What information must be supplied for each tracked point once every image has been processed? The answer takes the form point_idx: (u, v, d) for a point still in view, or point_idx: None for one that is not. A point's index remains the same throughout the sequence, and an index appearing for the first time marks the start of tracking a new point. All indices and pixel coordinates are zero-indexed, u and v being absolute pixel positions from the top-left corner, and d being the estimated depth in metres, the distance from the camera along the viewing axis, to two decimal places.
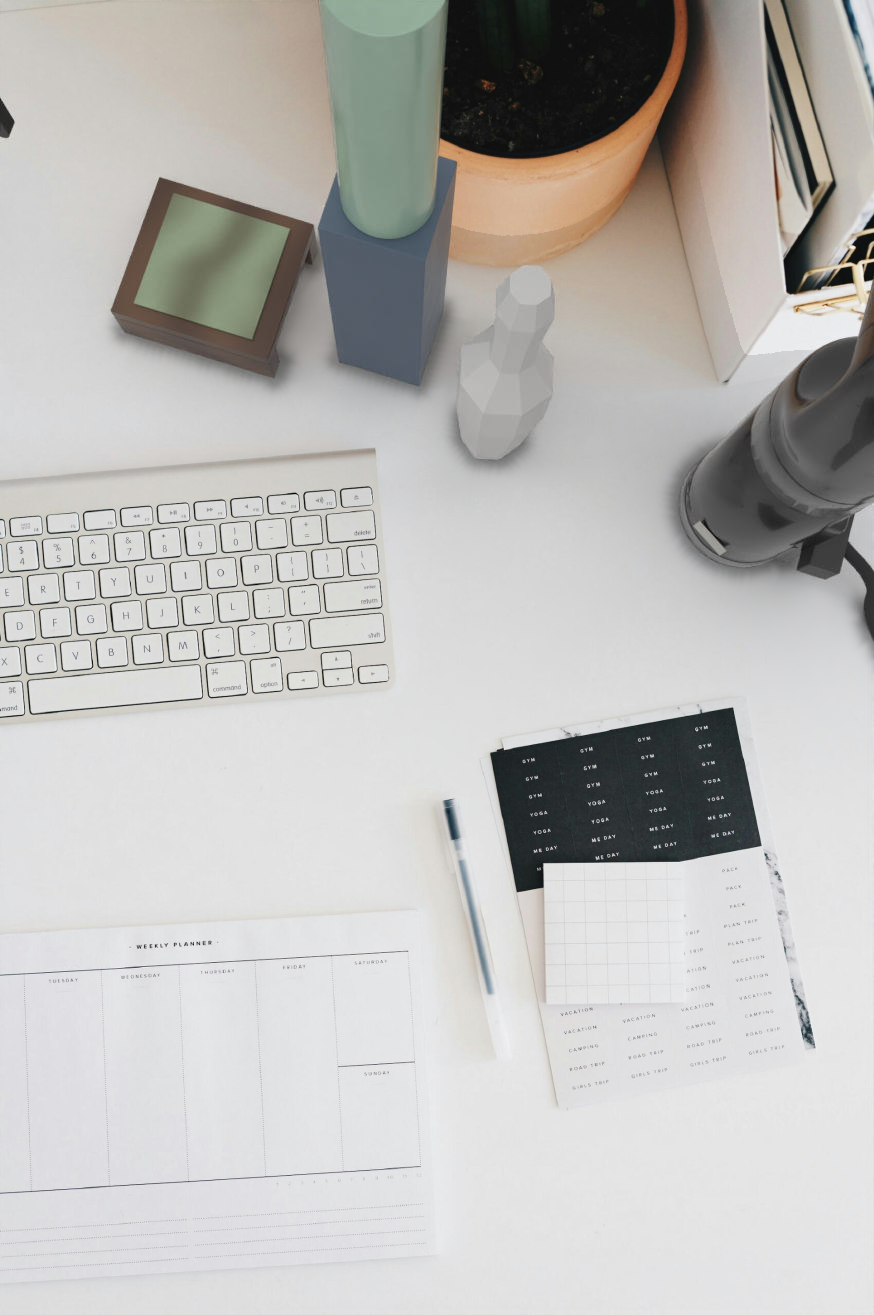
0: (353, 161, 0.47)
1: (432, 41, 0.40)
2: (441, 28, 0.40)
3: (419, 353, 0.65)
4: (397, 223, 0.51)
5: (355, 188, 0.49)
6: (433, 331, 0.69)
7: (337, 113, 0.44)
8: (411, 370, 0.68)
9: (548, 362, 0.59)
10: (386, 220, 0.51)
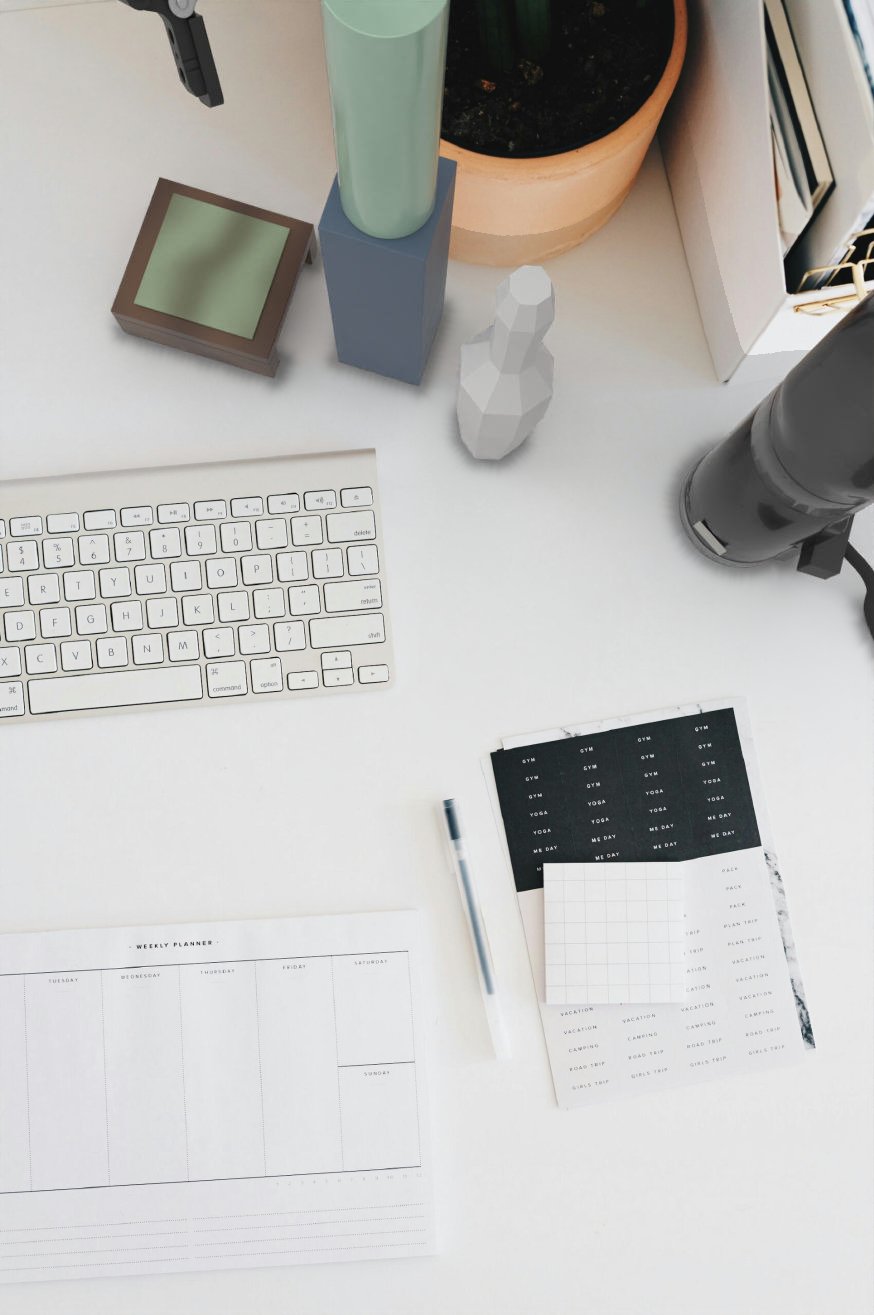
0: (353, 162, 0.47)
1: (434, 42, 0.40)
2: (442, 29, 0.40)
3: (419, 353, 0.65)
4: (397, 223, 0.51)
5: (355, 188, 0.49)
6: (433, 331, 0.69)
7: (337, 113, 0.44)
8: (411, 370, 0.68)
9: (548, 362, 0.59)
10: (386, 220, 0.51)
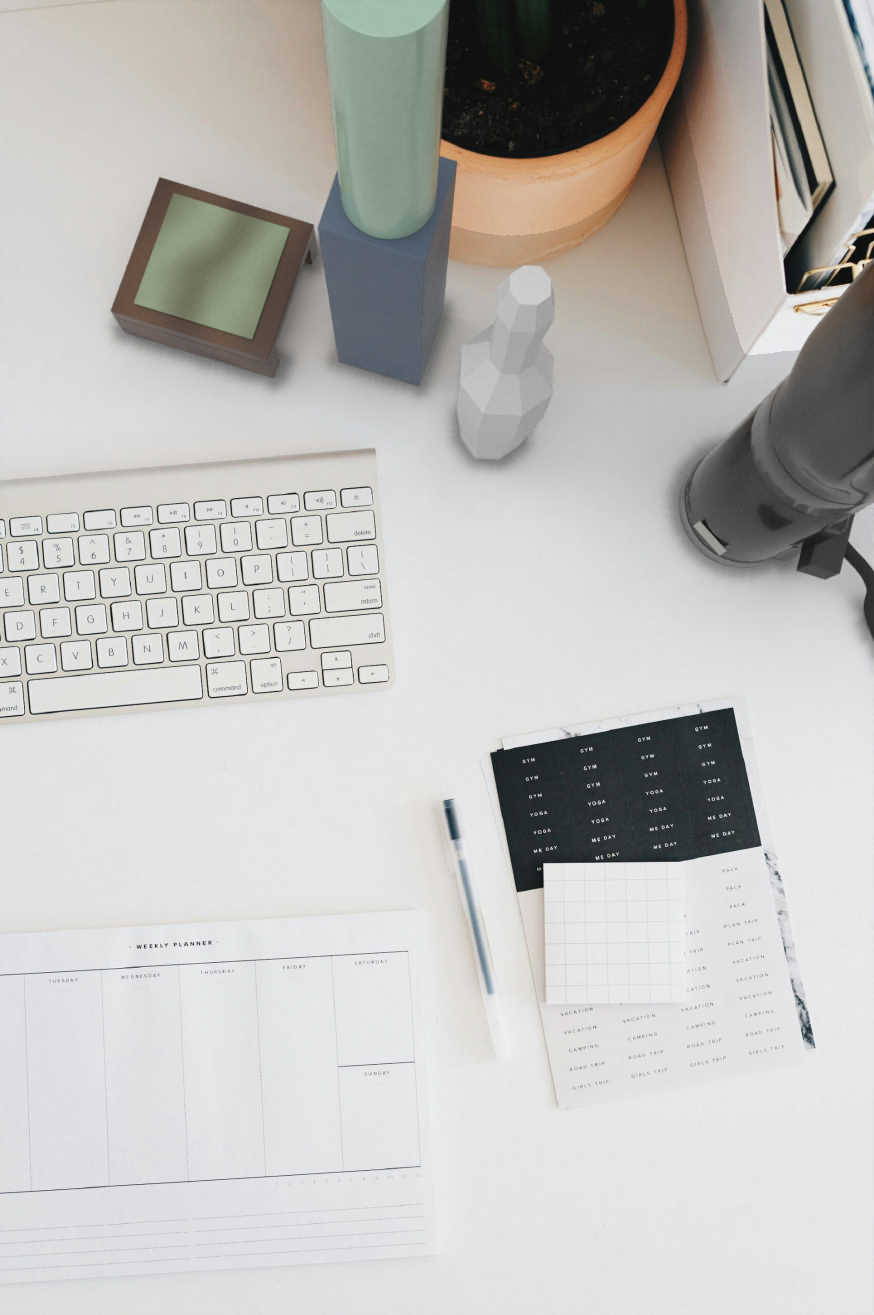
0: (353, 161, 0.47)
1: (433, 42, 0.40)
2: (441, 30, 0.40)
3: (419, 353, 0.65)
4: (397, 223, 0.51)
5: (355, 188, 0.49)
6: (433, 331, 0.69)
7: (337, 113, 0.44)
8: (411, 370, 0.68)
9: (548, 362, 0.59)
10: (386, 220, 0.51)
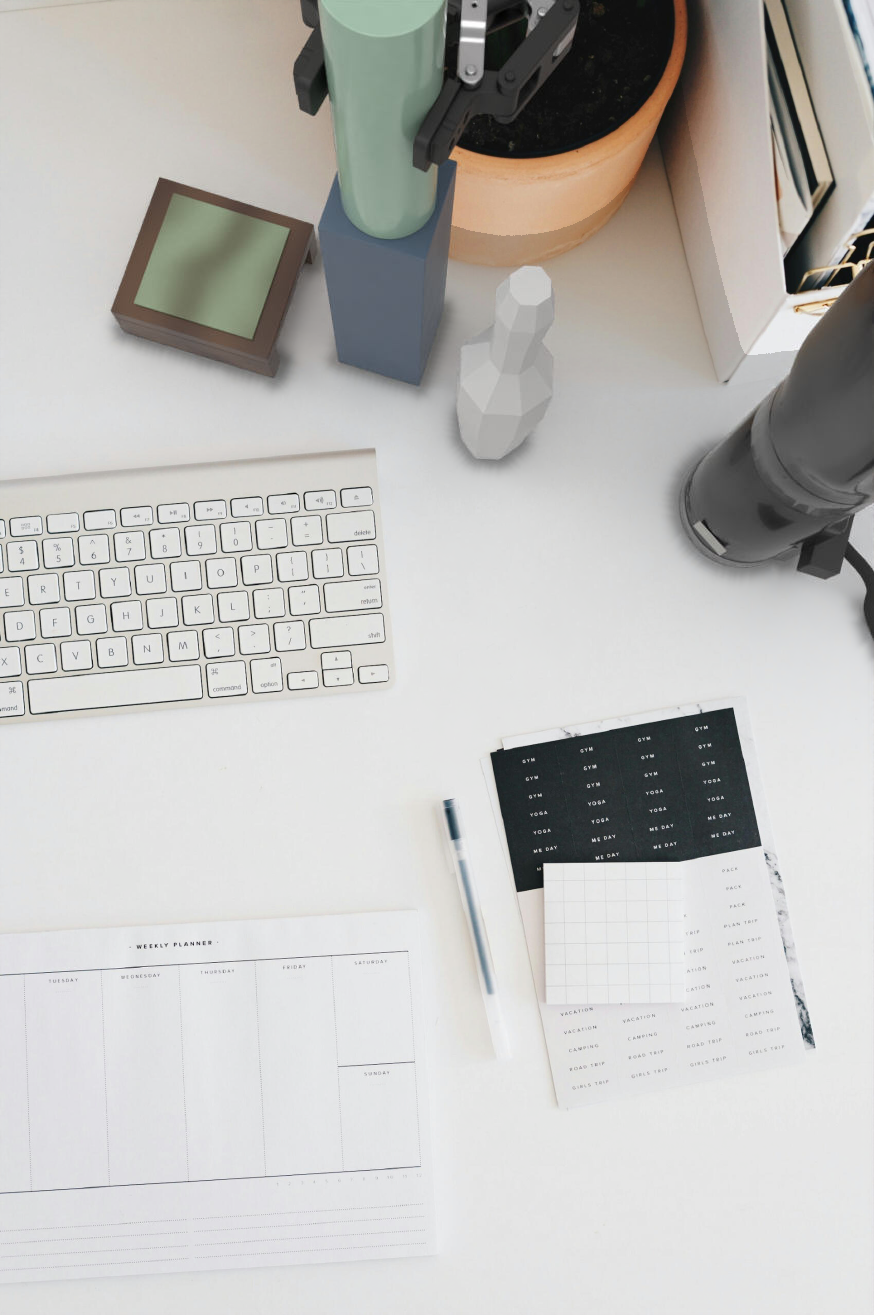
0: (352, 161, 0.47)
1: (431, 42, 0.40)
2: (440, 29, 0.40)
3: (419, 353, 0.65)
4: (397, 223, 0.51)
5: (354, 188, 0.49)
6: (433, 331, 0.69)
7: (336, 112, 0.44)
8: (411, 370, 0.68)
9: (549, 362, 0.59)
10: (386, 220, 0.51)
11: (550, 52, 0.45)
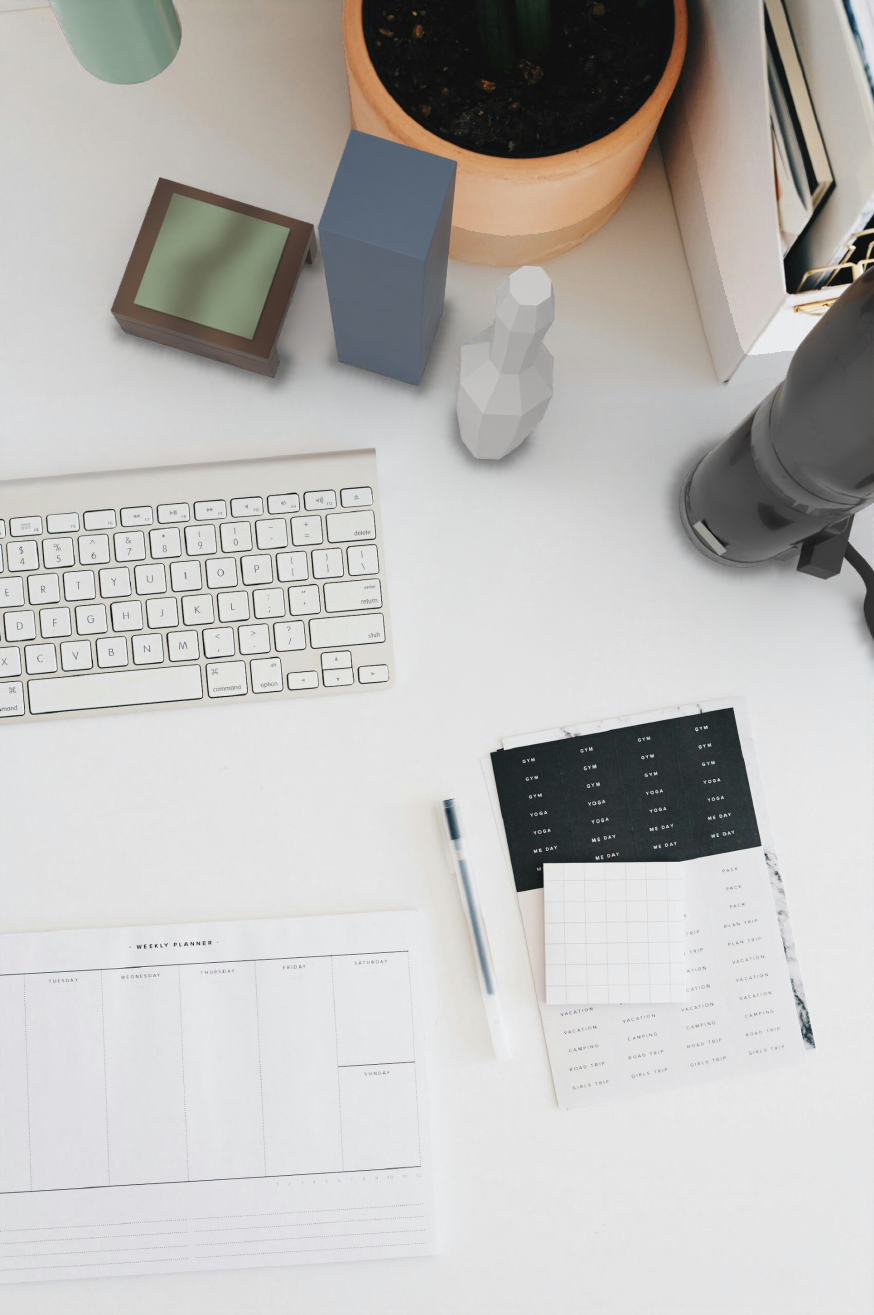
0: None
1: None
2: None
3: (419, 353, 0.65)
4: (124, 61, 0.44)
5: (60, 11, 0.42)
6: (433, 331, 0.69)
7: None
8: (411, 370, 0.68)
9: (548, 362, 0.59)
10: (109, 56, 0.44)
11: None
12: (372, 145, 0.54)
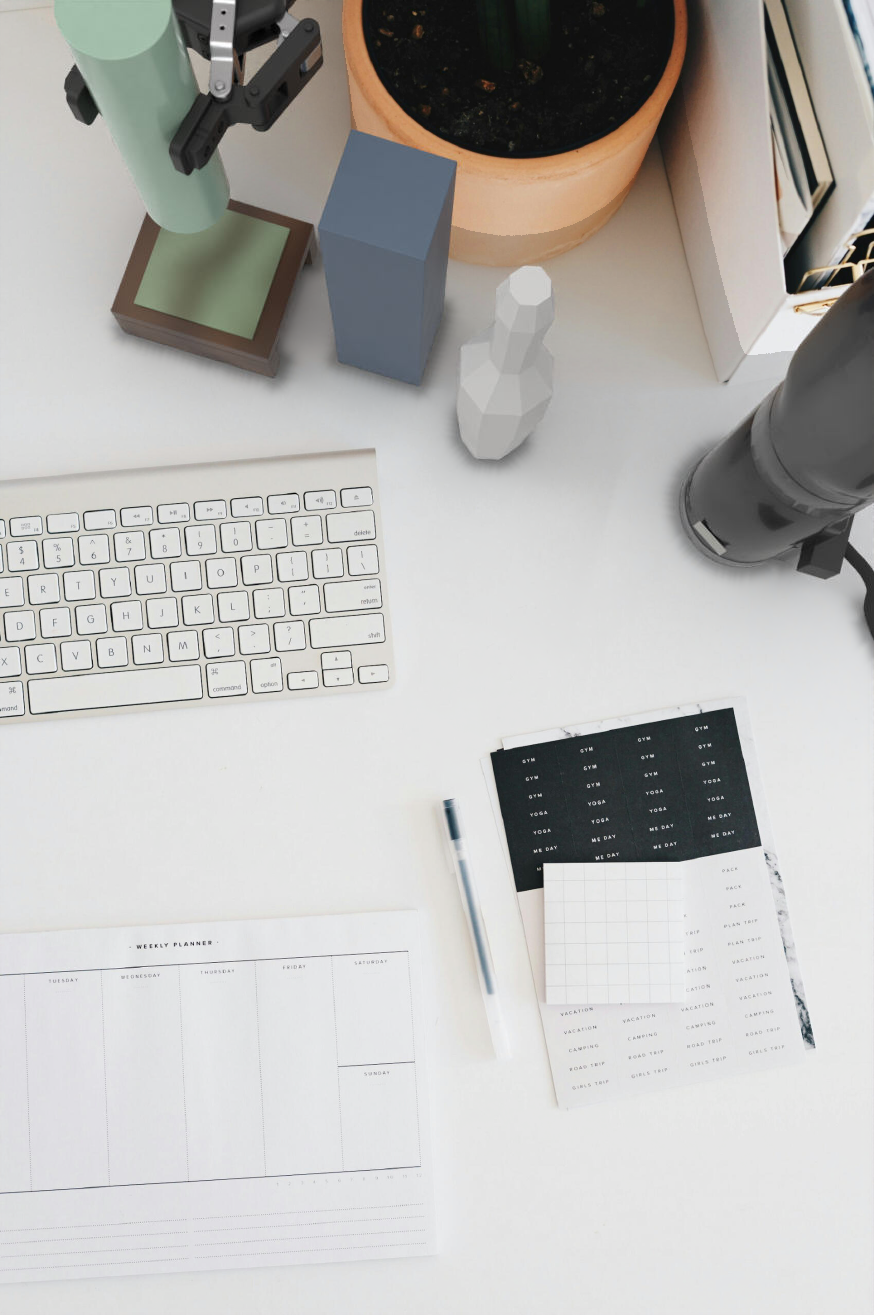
0: (130, 165, 0.53)
1: (162, 63, 0.45)
2: (170, 52, 0.45)
3: (419, 353, 0.65)
4: (187, 220, 0.57)
5: (140, 188, 0.55)
6: (433, 331, 0.69)
7: (104, 122, 0.50)
8: (411, 370, 0.68)
9: (548, 362, 0.59)
10: (176, 217, 0.57)
11: (294, 69, 0.50)
12: (372, 145, 0.54)
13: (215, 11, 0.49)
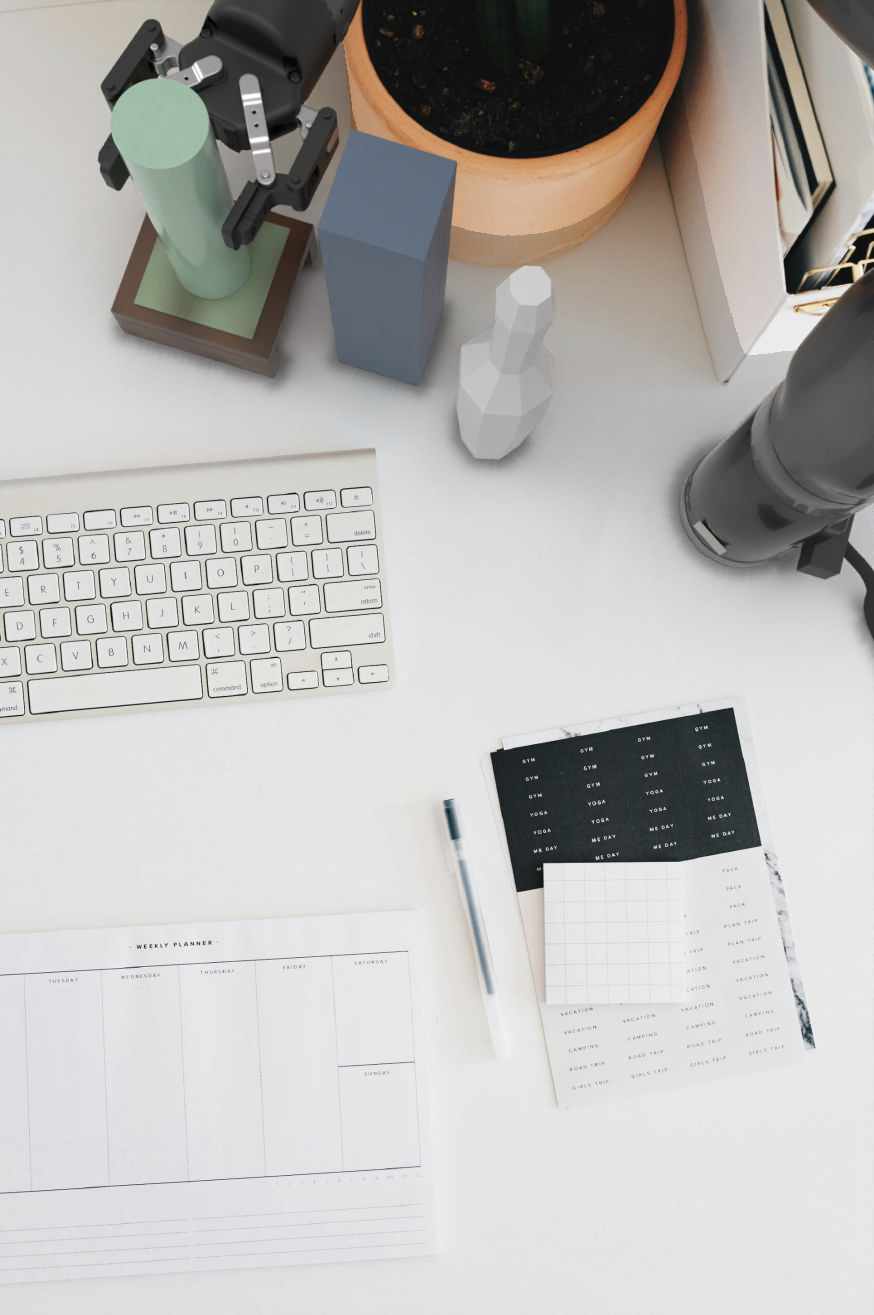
0: (167, 245, 0.61)
1: (200, 169, 0.54)
2: (207, 160, 0.54)
3: (419, 353, 0.65)
4: (214, 288, 0.66)
5: (175, 262, 0.63)
6: (433, 331, 0.69)
7: (147, 211, 0.59)
8: (411, 370, 0.68)
9: (548, 362, 0.59)
10: (204, 286, 0.65)
11: (322, 153, 0.58)
12: (372, 145, 0.54)
13: (247, 112, 0.57)
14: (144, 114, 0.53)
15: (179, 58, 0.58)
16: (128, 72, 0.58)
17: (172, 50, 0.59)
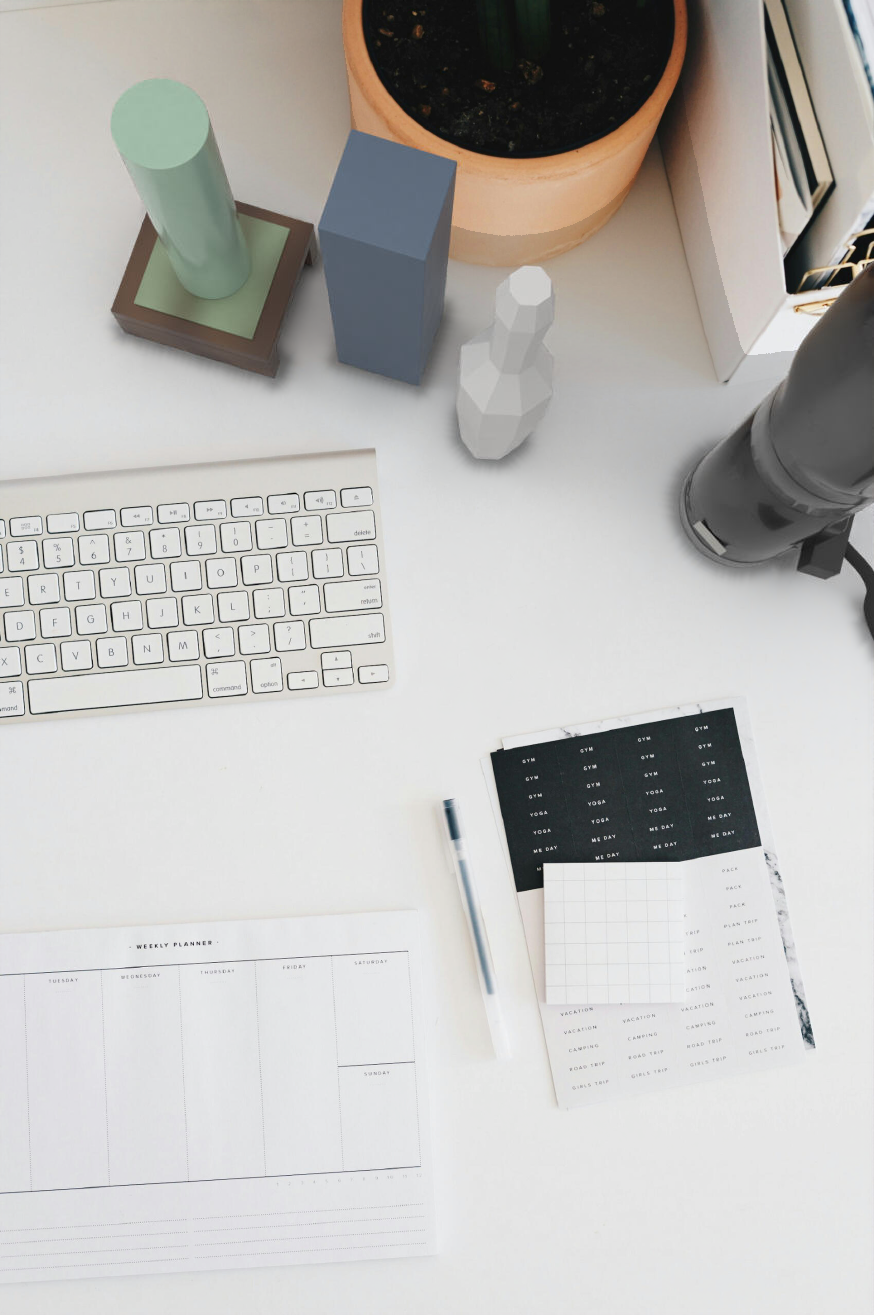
0: (167, 245, 0.61)
1: (200, 169, 0.54)
2: (207, 160, 0.54)
3: (419, 353, 0.65)
4: (214, 288, 0.66)
5: (175, 262, 0.63)
6: (433, 331, 0.69)
7: (147, 211, 0.59)
8: (411, 370, 0.68)
9: (548, 362, 0.59)
10: (204, 286, 0.65)
11: None
12: (372, 145, 0.54)
13: None
14: (144, 114, 0.53)
15: None
16: None
17: None
